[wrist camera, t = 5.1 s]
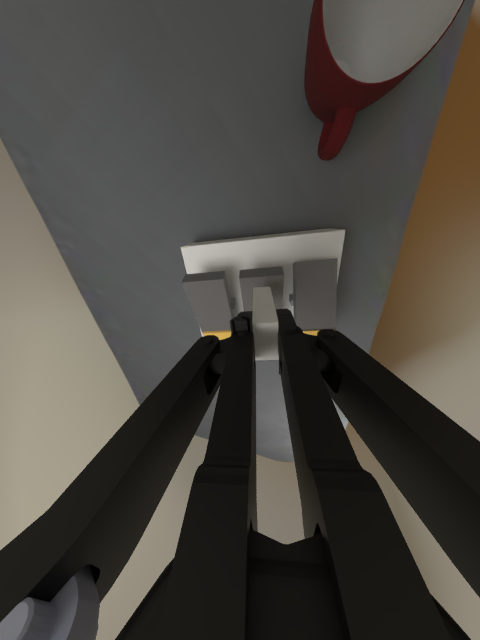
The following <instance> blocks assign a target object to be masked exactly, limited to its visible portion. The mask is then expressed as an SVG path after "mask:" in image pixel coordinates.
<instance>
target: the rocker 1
mask: <svg viewBox="0 0 480 640" xmlns="http://www.w3.org/2000/svg"><path fill="white" fill-rule="evenodd" d="M182 284H183V287H184V289H185V292H186V294H187V297H188V299H189V302H190V304H191V306H192V309H193V311H194V314H195V316H196V319H197V321H198V323H199V326H200V328H201V331H202V333H203V336H207V335H215V336H217V337H218V338H219V340H222V339H226V338H228V337H230V336H231V328H230V320H231V319H232V318H234V314H233V309H232V304H231V299H230V294H229V289H228V284H227V279H226V274H225V271H218V272H206V273H194V274H185V277H184V279H183V281H182Z"/></svg>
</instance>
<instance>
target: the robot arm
mask: <svg viewBox="0 0 480 640" xmlns="http://www.w3.org/2000/svg"><path fill="white" fill-rule="evenodd" d="M230 328H231V336H230V337H228V338H226V339H222V340H219V338H218V337H217V336H215V335H207V336H203V337H201V338H200V339H199V340H197V342H196V343H195V344H194V345H193V346H192V347H191V348H190V350H189V351H188V352H187V353H186V354H185V355H184V356H183V357H182V359H181V360H180V361H179V362H178V363H177V364H176V365H175V367H174V368H173V369H172V370H171V371H170V372H169V373H168V374H167V376H166V377H165V378H164V379H163V380H162V381H161V382H160V384H159V385H158V386H157V387H156V388H155V389H154V390H153V391H152V393H151V394H150V395H149V396H148V397H147V398H146V399H145V401H144V402H143V403H142V404H141V405H140V406H139V407H138V409H137V410H136V411H135V412H134V413H133V414H132V416H130V418H129V419H128V420H127V421H126V422H125V423H124V424H123V426H122V427H121V428H120V429H119V430H118V431H117V432H116V433H115V435H114V436H113V437H112V438H111V439H110V440H109V441H108V443H107V444H106V445H105V446H104V447H103V448H102V449H101V450H100V452H99V453H98V454H97V455H96V456H95V457H94V458H93V459H92V461H91V462H90V463H89V464H88V465H87V466H86V468H85V469H84V470H83V471H82V472H81V473H80V474H79V476H77V478H76V479H75V480H74V481H73V482H72V483H71V484H70V486H69V487H68V488H67V489H66V490H65V492H63V493H62V495H61V496H60V497H59V498H58V499H57V500H56V501H55V502H54V504H53V505H52V506H51V507H50V508H49V509H48V510H47V511H46V512H45V513H44V514H43V515H42V516H40V517H39V518H38V519H37V520H36V521H35V522H33V523H32V524H31V525H30V526H29V527H27V528H26V529H25V530H24V531H23V532H22V533H21V534H20V535H18V536H17V537H16V538H15V539H14V540H12V541H11V542H10V543H9V544H8V545H6V546H5V547H4V548H3V549H2V550H0V640H95V639H96V635H97V630H98V617H99V607H100V602H101V601H102V600H103V598H104V597H105V595H106V594H107V593H108V591H109V590H110V588H111V587H112V585H113V584H114V582H115V581H116V579H117V578H118V576H119V574H120V573H121V571H122V570H123V568H124V566H125V565H126V563H127V562H128V560H129V559H130V557H131V555H132V553H133V551H134V550H135V548H136V546H137V544H138V542H139V541H140V539H141V537H142V535H143V533H144V531H145V529H146V527H147V525H148V524H149V522H150V520H151V518H152V516H153V514H154V512H155V510H156V508H157V506H158V504H159V502H160V500H161V498H162V496H163V494H164V492H165V491H166V489H167V487H168V485H169V483H170V481H171V479H172V477H173V475H174V473H175V471H176V469H177V467H178V465H179V463H180V461H181V460H182V458H183V456H184V454H185V452H186V450H187V448H188V446H189V444H190V442H191V440H192V438H193V436H194V434H195V432H196V431H197V429H198V427H199V425H200V423H201V421H202V419H203V417H204V415H205V413H206V411H207V409H208V407H209V405H210V403H211V401H212V400H213V398H214V396H215V394H216V392H217V390H218V388H219V386H220V389H219V394H218V398H217V403H216V408H215V412H214V417H213V422H212V426H211V431H210V436H209V441H208V445H207V450H206V455H205V459H204V461H203V464H201V465H200V466H199V467H198V469H197V471H196V473H195V476H194V479H193V483H192V487H191V491H190V495H189V499H188V503H187V508H186V512H185V516H184V520H183V524H182V528H181V533H180V537H179V541H178V545H177V549H176V553H175V557H174V559H173V560H172V561H171V562H170V563H169V565H167V567H166V568H165V569H164V571H163V572H162V573H161V575H160V576H159V578H158V579H157V581H156V582H155V583H154V585H153V586H152V588H151V589H150V590H149V592H148V594H147V595H146V596H145V598H144V599H143V601H142V602H141V603H140V605H139V606H138V608H137V609H136V610H135V612H134V613H133V615H132V616H131V618H130V619H129V620H128V622H127V623H126V625H125V626H124V628H123V629H122V630H121V632H120V633H119V635H118V636H117V638H116V639H115V640H471V639H470V638H469V637H468V635H467V634H466V633H465V632H464V631H463V630H462V629H461V628H460V626H459V625H458V624H457V623H456V622H455V621H454V620H453V618H452V617H451V616H450V615H449V614H448V613H447V612H446V611H445V610H444V608H443V607H442V606H441V605H440V604H439V603H438V602H437V600H436V599H435V598H434V597H433V596H432V595H431V594H430V593H429V590H428V588H427V586H426V584H425V582H424V580H423V578H422V575H421V573H420V571H419V569H418V567H417V565H416V562H415V560H414V558H413V556H412V554H411V552H410V550H409V548H408V546H407V543H406V541H405V539H404V537H403V535H402V533H401V531H400V529H399V526H398V524H397V522H396V520H395V518H394V516H393V514H392V511H391V509H390V507H389V505H388V503H387V501H386V498H385V496H384V494H383V492H382V490H381V489H380V487H379V485H378V483H377V481H376V480H375V478H374V477H373V476H372V475H371V473H369V472H367V471H365V470H364V469H363V468H362V467H361V466H360V464H359V462H358V460H357V457H356V455H355V453H354V450H353V448H352V446H351V443H350V441H349V439H348V436H347V434H346V431H345V429H344V427H343V424H342V422H341V420H340V417H339V415H338V413H337V410H336V408H335V406H334V403H333V401H332V399H333V400H334V402H335V403H336V404H337V406H338V407H339V408H340V410H341V411H342V413H343V414H344V415H345V417H346V418H347V419H348V421H349V422H350V423H351V425H352V426H353V427H354V429H355V430H356V432H357V433H358V434H359V435H360V437H361V438H362V440H363V441H364V442H365V444H366V445H367V447H368V448H369V449H370V451H371V452H372V453H373V455H374V456H375V458H376V459H377V460H378V462H379V463H380V464H381V466H382V467H383V468H384V470H385V471H386V472H387V474H388V475H389V477H390V478H391V479H392V481H393V482H394V483H395V485H396V486H397V487H398V489H399V490H400V492H401V493H402V494H403V496H404V497H405V498H406V500H407V501H408V503H409V504H410V505H411V507H412V508H413V509H414V511H415V512H416V513H417V515H418V516H419V518H420V519H421V520H422V522H423V523H424V524H425V526H426V527H427V528H428V530H429V531H430V532H431V534H432V535H433V537H434V538H435V539H436V541H437V542H438V543H439V545H440V546H441V547H442V549H443V550H444V552H445V553H446V554H447V556H448V557H449V558H450V560H451V561H452V563H453V564H454V565H455V566H456V568H457V569H458V570H459V572H460V573H461V574H462V575H463V577H464V578H465V579H466V581H467V582H468V583H469V585H470V586H471V587H472V588H473V590H474V591H475V592H476V594H477V595H478V596H479V597H480V442H479V441H478V440H477V439H476V438H474V437H473V436H472V435H471V434H469V433H468V432H467V431H466V430H464V429H463V428H462V427H460V426H459V425H458V424H457V423H455V422H454V421H453V420H452V419H450V418H449V417H447V416H446V415H445V414H444V413H443V412H441V411H440V410H439V409H438V408H436V407H435V406H434V405H432V404H431V403H430V402H429V401H427V400H426V399H425V398H423V397H422V396H421V395H420V394H418V393H417V392H416V391H414V390H413V389H412V388H410V387H409V386H408V385H407V384H406V383H404V382H403V381H401V380H400V379H399V378H398V377H397V376H395V375H394V374H393V373H392V372H390V371H389V370H388V369H386V368H385V367H384V366H383V365H381V364H380V363H379V362H378V361H376V360H375V359H374V358H372V357H371V356H370V355H369V354H367V353H366V352H365V351H364V350H362V349H361V348H360V347H358V346H357V345H356V344H355V343H353V342H352V341H351V340H350V339H348V338H347V337H346V336H344V335H343V334H342V333H340V332H338V331H336V330H333V329H323V330H320V331H318V332H317V336H316V335H309V334H305V333H303V331H302V329H301V328H300V327H298V326H297V325H296V322H295V320H294V317H293V315H292V312H291V311H290V310H289V309H287V308H286V309H275V305H274V301H273V296H272V292H271V288H270V287H258V288H253V311H244V312H240V313H239V314H238V315H237V317H234V318H232V319H231V320H230ZM255 360H279V374H281V380H282V386H283V393H284V399H285V405H286V411H287V417H288V424H289V430H290V436H291V442H292V449H293V455H294V461H295V467H296V473H297V480H298V486H299V492H300V498H301V505H302V516H303V527H304V536H305V539H303V540H300V541H297V542H294V543H292V544H288V545H287V544H282V543H279V542H278V541H275V540H273V539H271V538H269V537H267V536H265V535H263V534H261V533H259V532H257V503H256V363H255ZM331 398H332V399H331Z"/></svg>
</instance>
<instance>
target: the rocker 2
mask: <svg viewBox="0 0 480 640" xmlns="http://www.w3.org/2000/svg"><path fill="white" fill-rule="evenodd" d="M239 282H240V288H241V295H242V302H243V309H244V311H253V288H258V287H270V288H271V292H272V296H273V301H274V305H275V309H282V300H283V285H284V272H283V268H282V266H280V267H268V268H256V269H245V270H240V273H239Z"/></svg>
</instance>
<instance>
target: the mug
mask: <svg viewBox="0 0 480 640" xmlns="http://www.w3.org/2000/svg"><path fill="white" fill-rule="evenodd" d="M463 2H464V0H314V3H313V8H312V13H311V19H310V26H309V34H308V44H307V55H306V66H305V93H306V98H307V102H308V105H309V107H310V109H311V111H312V112H313V113H314V115H315V116H316V117H317V118H319V119H320V120H321V121H323V122H324V125H323V129H322V133H321V137H320V141H319V145H318V156H319V158H320V159H322V160H325V161H327V160H331V159H333V158H334V157H335V156H336V155H337V154H338V153H339V151H340V150H341V148H342V146H343V145H344V143H345V141H346V139H347V136H348V134H349V132H350V129H351V127H352V124H353V121H354V117H355V114H356V113H357V112H359V111H360V110H362V109H364V108H366V107H367V106H369V105H371V104H372V103H374V102H375V101H377V100H379V99H380V98H381V97H383V96H384V95H385V94H387V93H388V92H389V91H390V90H392V89H393V88H394V87H395V86H396V85H397V84H399V83H400V82H401V81H402V80H403V79H404V78H405V77H406V76H407V75H408V74H409V73H410V72H411V71H412V70H413V69H414V68H415V67H416V66H417V65H418V64H419V63H420V62H421V61H422V60H423V59H424V58H425V57H426V56H427V55H428V54H429V52H430V51H431V50H432V49H433V48H434V47H435V45H436V44H437V43H438V42H439V40H440V39H441V38H442V36H443V35H444V34H445V32H446V31H447V29H448V28H449V27H450V25H451V23H452V22H453V20H454V19H455V17H456V15H457V13H458V12H459V10H460V8H461V6H462V4H463Z"/></svg>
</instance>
